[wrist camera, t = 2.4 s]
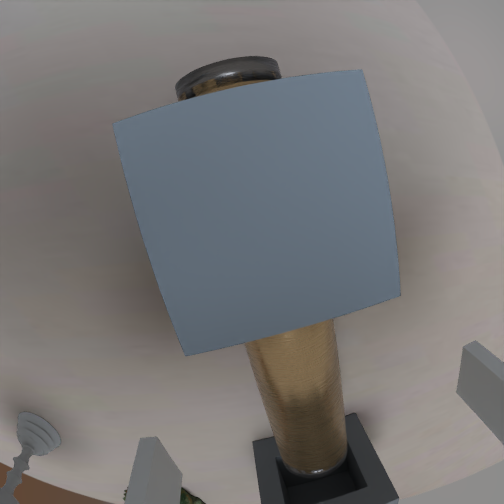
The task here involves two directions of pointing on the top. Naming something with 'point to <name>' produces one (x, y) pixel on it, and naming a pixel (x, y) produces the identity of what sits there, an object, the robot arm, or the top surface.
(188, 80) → the slip tube
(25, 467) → the chalice
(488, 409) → the robot arm
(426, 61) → the top surface
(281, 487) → the socket
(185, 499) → the seashell
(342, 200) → the blue-grey cube-like block
